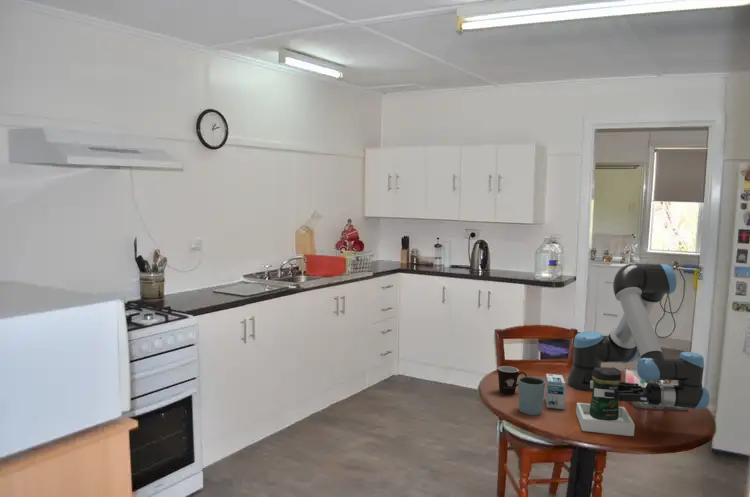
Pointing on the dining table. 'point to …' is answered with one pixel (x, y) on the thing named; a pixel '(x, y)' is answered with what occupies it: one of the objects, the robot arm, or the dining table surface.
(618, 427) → the tray
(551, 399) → the light bulb box
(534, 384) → the blue-grey cup
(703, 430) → the dining table surface
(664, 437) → the dining table surface
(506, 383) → the coffee mug
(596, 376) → the coffee jar
